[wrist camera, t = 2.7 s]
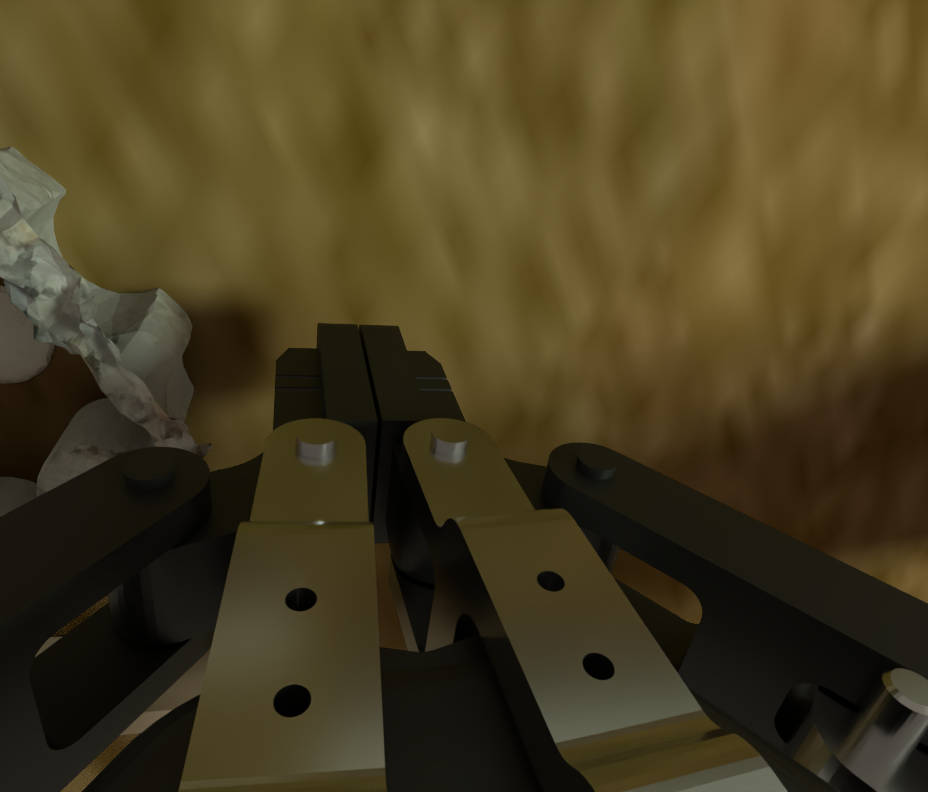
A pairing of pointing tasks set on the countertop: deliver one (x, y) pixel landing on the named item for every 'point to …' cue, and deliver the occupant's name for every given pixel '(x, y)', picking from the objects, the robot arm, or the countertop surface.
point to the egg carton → (84, 340)
